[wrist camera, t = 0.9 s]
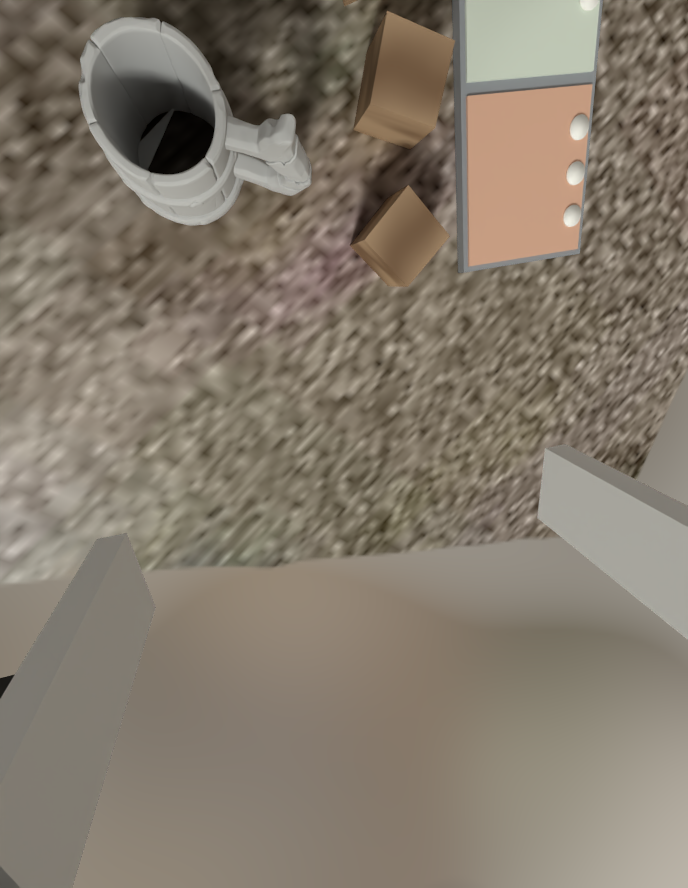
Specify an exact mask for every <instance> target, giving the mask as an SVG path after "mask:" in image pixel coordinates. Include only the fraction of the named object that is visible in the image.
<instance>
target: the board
mask: <svg viewBox="0 0 688 888" xmlns="http://www.w3.org/2000/svg"><path fill="white" fill-rule="evenodd" d="M602 3H603V0H452V20H453V40H455V44H454V48H453V65H454V110H455V154H456V199H457V244H458V273H463V272H470V271H476V270H482V269H488V268H494V267H500V266H506V265H512V264H518V263H525V262H531V261H537V260H543V259H549V258H555V257H561V256H567V255H573V254H580V244H581V233H582V222H583V211H584V200H585V189H586V178H587V167H588V156H589V145H590V134H591V123H592V112H593V101H594V90H595V79H596V68H597V58H598V47H599V36H600V25H601V14H602Z"/></svg>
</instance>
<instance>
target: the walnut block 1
mask: <svg viewBox="0 0 688 888" xmlns="http://www.w3.org/2000/svg"><path fill="white" fill-rule="evenodd" d="M355 1H357V0H343V3H344V6H346V5H348V4H350V3H353V2H355Z"/></svg>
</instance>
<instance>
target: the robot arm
mask: <svg viewBox="0 0 688 888" xmlns="http://www.w3.org/2000/svg"><path fill="white" fill-rule="evenodd" d="M538 519H540V520H541V521H542V522H543V523H544V524H546V525H547V526H548V527H549V528H551V529H552V530H553V531H554V532H556V533H557V534H558V535H559V536H561V537H562V538H563V539H564V540H565V541H567V542H568V543H569V544H570V545H572V546H573V547H574V548H575V549H577V550H578V551H579V552H580V553H582V554H583V555H584V556H585V557H587V558H588V559H589V560H590V561H591V562H593V563H594V564H595V565H596V566H597V567H599V568H600V569H601V570H602V571H604V572H605V573H606V574H608V575H609V576H610V577H611V578H612V579H614V580H615V581H616V582H617V583H618V584H620V585H621V586H622V587H624V588H625V589H626V590H627V591H629V592H630V593H631V594H632V595H633V596H634V597H636V598H637V599H638V600H640V601H641V602H642V603H643V604H644V605H646V606H647V607H648V608H650V609H651V610H652V611H653V612H654V613H656V614H657V615H658V616H659V617H661V618H662V619H663V620H664V621H665V622H667V623H668V624H669V625H670V626H671V627H673V628H674V629H675V630H677V631H678V632H679V633H680V634H682V635H683V636H684V637H685V638H686V639H688V506H687V505H685V504H683V503H681V502H679V501H677V500H675V499H673V498H671V497H669V496H667V495H665V494H663V493H661V492H659V491H657V490H655V489H653V488H651V487H649V486H647V485H645V484H643V483H641V482H639V481H637V480H636V479H634V478H632V477H630V476H628V475H626V474H624V473H622V472H620V471H618V470H616V469H614V468H612V467H610V466H608V465H606V464H604V463H602V462H600V461H598V460H596V459H594V458H592V457H590V456H588V455H586V454H584V453H582V452H580V451H578V450H576V449H574V448H572V447H570V446H568V445H566V444H564V445H559V446H554V447H549V448H545V454H544V463H543V473H542V482H541V491H540V500H539V509H538ZM155 608H156V607H155V604H154V601H153V599H152V596H151V594H150V591H149V589H148V586H147V584H146V581H145V578H144V576H143V573H142V571H141V568H140V566H139V563H138V561H137V558H136V556H135V553H134V550H133V548H132V545H131V543H130V540H129V538H128V535H127V533H124V534H120V535H115V536H110V537H105V538H100V539H97V540H96V542H95V544H94V545H93V547H92V549H91V550H90V552H89V553H88V555H87V557H86V558H85V560H84V562H83V563H82V565H81V567H80V568H79V570H78V572H77V573H76V575H75V577H74V578H73V580H72V581H71V583H70V585H69V586H68V588H67V590H66V591H65V593H64V595H63V596H62V598H61V600H60V601H59V603H58V605H57V606H56V608H55V609H54V611H53V613H52V614H51V616H50V618H49V619H48V621H47V623H46V624H45V626H44V628H43V629H42V631H41V633H40V634H39V636H38V637H37V639H36V641H35V642H34V644H33V646H32V647H31V649H30V651H29V652H28V654H27V656H26V657H25V659H24V661H23V662H22V664H21V666H20V667H19V669H18V671H17V672H16V674H15V675H11V676H7V677H3V678H0V888H72V887H73V884H74V881H75V877H76V874H77V870H78V867H79V864H80V860H81V857H82V854H83V850H84V847H85V843H86V840H87V837H88V833H89V830H90V826H91V823H92V820H93V816H94V813H95V810H96V806H97V803H98V800H99V796H100V793H101V790H102V786H103V783H104V779H105V776H106V773H107V769H108V766H109V763H110V759H111V756H112V752H113V749H114V745H115V742H116V739H117V736H118V732H119V729H120V726H121V722H122V719H123V715H124V712H125V709H126V705H127V702H128V699H129V695H130V692H131V688H132V685H133V682H134V678H135V675H136V672H137V668H138V665H139V662H140V658H141V655H142V651H143V648H144V645H145V641H146V638H147V635H148V631H149V628H150V625H151V621H152V618H153V614H154V611H155Z"/></svg>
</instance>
